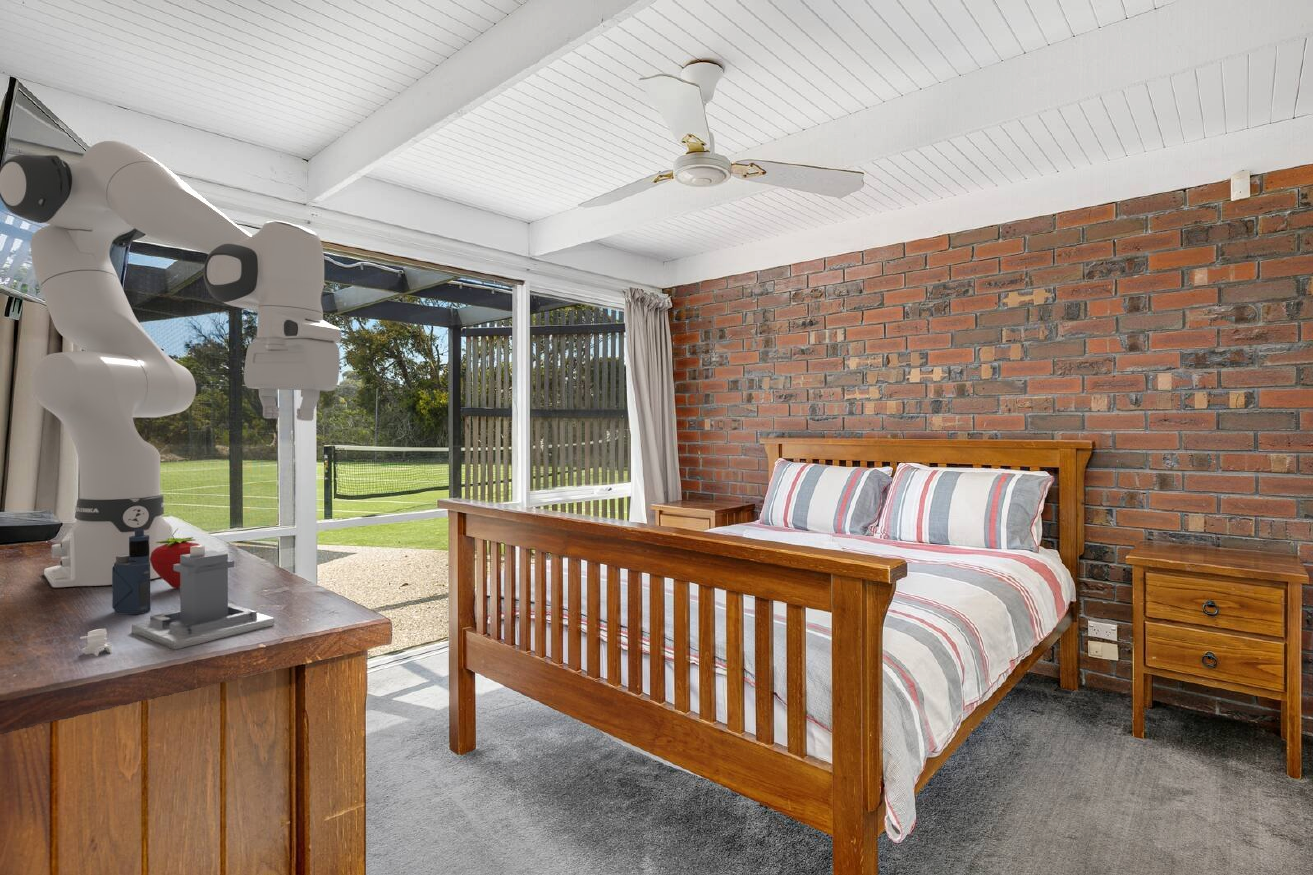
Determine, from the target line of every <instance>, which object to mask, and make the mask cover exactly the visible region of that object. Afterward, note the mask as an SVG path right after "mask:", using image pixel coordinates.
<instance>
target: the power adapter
mask: <svg viewBox="0 0 1313 875" xmlns="http://www.w3.org/2000/svg"><path fill="white" fill-rule="evenodd" d="M107 634H108V632H107V628H98V629H94V630H91V631H87V635H84V636H80V637H79V639H80V640H84V639H87V646H86V647H84V648H81V651H82V652H83V653H84V655H90V654H93V655H94V656H96V657H98V656H99V653H100V649H103V650H104V651H106V652H107V653H110V654H113V651H112V650H113V649H112V642H111V641H110V642H109V641H108V642H107V640H108V638H107Z"/></svg>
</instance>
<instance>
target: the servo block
mask: <svg viewBox="0 0 1313 875" xmlns="http://www.w3.org/2000/svg"><path fill="white" fill-rule="evenodd" d="M173 567H174V571H177V572H180V587H179V588H180V589H179V590H180V601H179V603H180V608H179V610H180V612H181V623H184V624H187V625H189V624H194V623H198V622H203V621H207V620H212V619H216V618H221V617H225V616H228V603H229V582H228V581H229V577H228V576H229V571H228V570H229V568H234V567H235V560H232V559H229V555H228V553H225V552H221V551H217V550H208V551H206V545H203V544H202V545H200V544H199V545H198V546H191V547H190V554H185V555H180V564H173Z"/></svg>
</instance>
